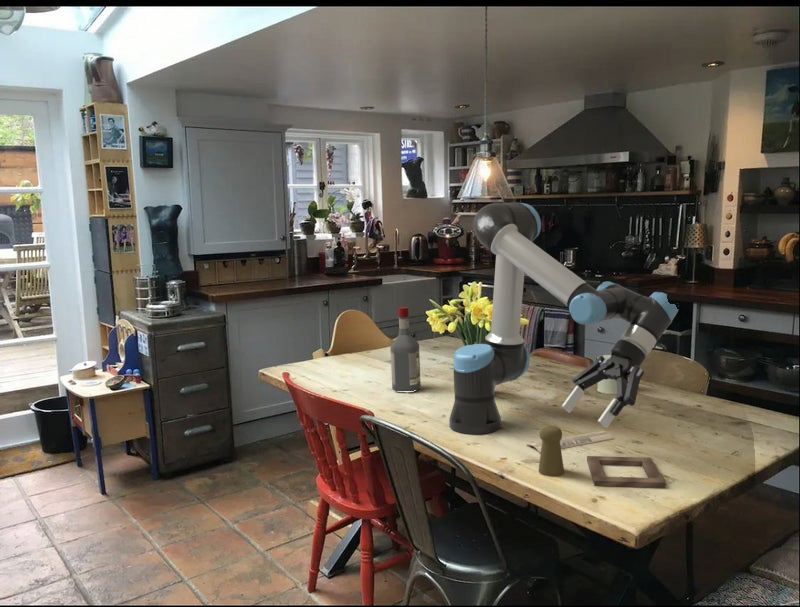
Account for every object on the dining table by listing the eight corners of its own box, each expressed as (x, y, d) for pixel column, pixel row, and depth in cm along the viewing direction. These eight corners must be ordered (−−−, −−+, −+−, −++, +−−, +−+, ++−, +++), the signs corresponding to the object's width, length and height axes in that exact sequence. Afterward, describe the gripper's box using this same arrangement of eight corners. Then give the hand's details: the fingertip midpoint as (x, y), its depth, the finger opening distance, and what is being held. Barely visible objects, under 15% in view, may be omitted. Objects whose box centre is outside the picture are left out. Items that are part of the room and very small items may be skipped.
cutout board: (594, 485, 143) (594, 480, 143) (586, 460, 158) (586, 455, 158) (665, 488, 141) (665, 482, 140) (650, 462, 155) (650, 457, 155)
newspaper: (599, 435, 178) (599, 428, 178) (616, 442, 171) (616, 436, 171) (526, 448, 170) (526, 442, 169) (541, 457, 163) (541, 450, 163)
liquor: (390, 392, 227) (387, 309, 224) (398, 386, 236) (394, 305, 232) (415, 393, 225) (412, 309, 221) (422, 387, 233) (419, 305, 229)
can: (625, 395, 213) (625, 359, 211) (596, 393, 216) (596, 358, 214) (625, 387, 221) (625, 353, 220) (597, 386, 224) (597, 353, 223)
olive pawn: (546, 478, 149) (545, 432, 147) (533, 468, 154) (533, 424, 153) (569, 474, 150) (569, 429, 149) (556, 465, 156) (556, 421, 154)
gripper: (680, 366, 146) (628, 441, 143) (607, 348, 169) (561, 412, 166) (662, 346, 144) (609, 422, 140) (590, 331, 167) (543, 395, 163)
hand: (583, 416), depth 153 cm, fingers open, 13 cm apart
